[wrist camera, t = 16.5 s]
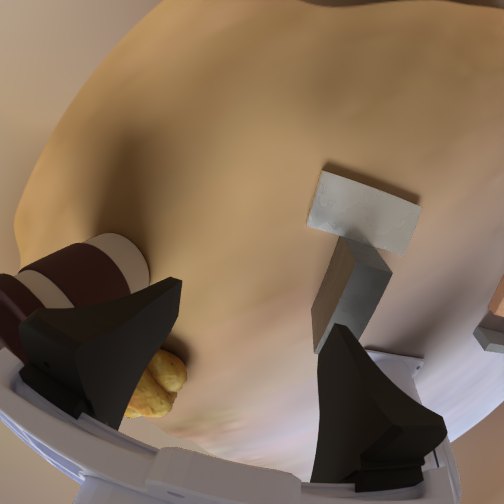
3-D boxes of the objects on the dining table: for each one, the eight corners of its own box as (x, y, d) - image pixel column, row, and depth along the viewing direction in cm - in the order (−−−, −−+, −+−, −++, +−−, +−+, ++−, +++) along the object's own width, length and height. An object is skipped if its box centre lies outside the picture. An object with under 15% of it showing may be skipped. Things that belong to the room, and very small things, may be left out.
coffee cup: (77, 212, 22) (-49, 277, 8) (164, 224, 21) (21, 332, 8) (88, 299, 26) (1, 385, 12) (166, 322, 25) (87, 447, 11)
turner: (365, 322, 22) (379, 365, 17) (279, 301, 22) (275, 344, 17) (417, 204, 18) (452, 224, 13) (321, 169, 18) (332, 177, 13)
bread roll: (177, 330, 25) (142, 388, 18) (209, 394, 29) (190, 449, 21) (91, 333, 28) (54, 374, 21) (126, 388, 31) (101, 430, 24)
